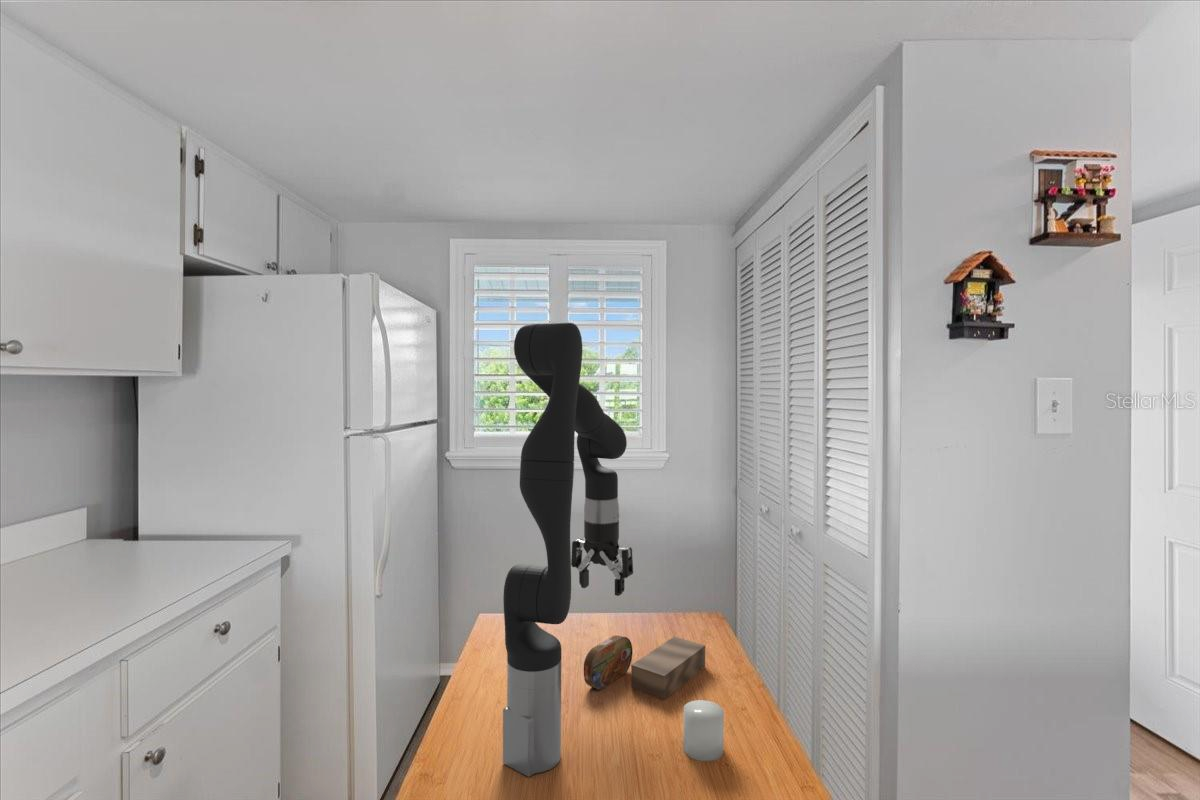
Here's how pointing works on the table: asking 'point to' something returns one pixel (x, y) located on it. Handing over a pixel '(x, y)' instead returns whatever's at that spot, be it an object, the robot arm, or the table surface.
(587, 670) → the tin
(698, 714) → the white rounded capsule
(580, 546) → the robot arm
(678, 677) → the brown rectangular block
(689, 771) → the table surface
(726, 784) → the table surface
